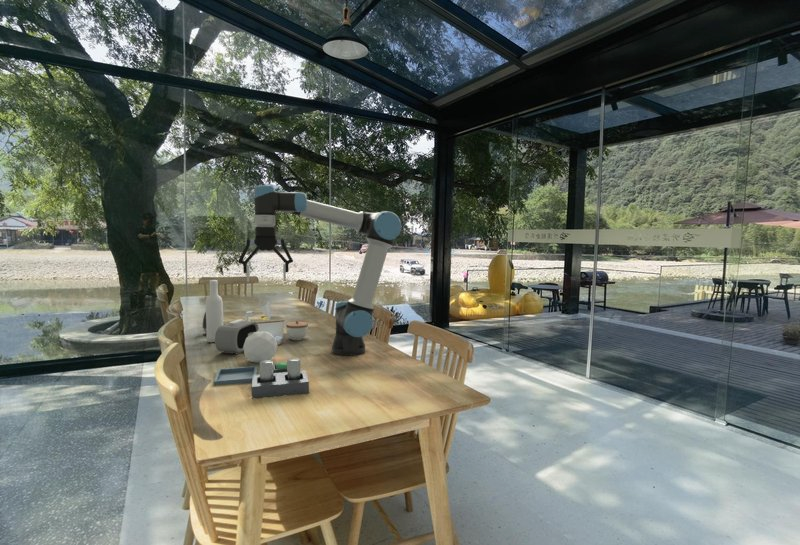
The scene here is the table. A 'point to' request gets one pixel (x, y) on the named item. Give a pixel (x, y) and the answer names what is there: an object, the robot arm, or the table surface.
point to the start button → (281, 365)
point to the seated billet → (293, 369)
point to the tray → (235, 375)
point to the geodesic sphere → (260, 346)
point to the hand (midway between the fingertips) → (266, 281)
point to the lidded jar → (297, 330)
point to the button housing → (279, 369)
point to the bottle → (213, 311)
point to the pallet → (280, 386)
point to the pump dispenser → (204, 323)
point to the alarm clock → (234, 335)
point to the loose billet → (266, 371)
